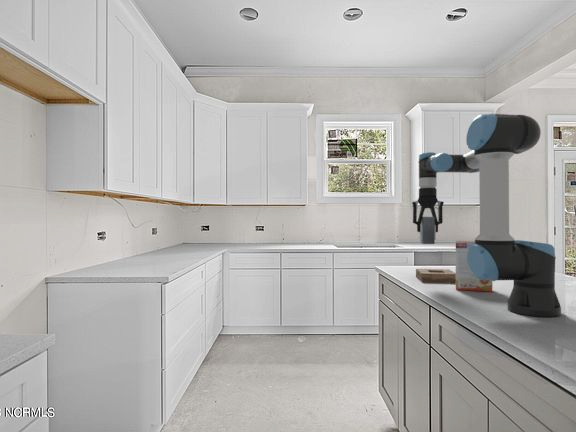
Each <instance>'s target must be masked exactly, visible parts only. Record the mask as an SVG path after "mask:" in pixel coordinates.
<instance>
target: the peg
mask: <svg viewBox="0 0 576 432" xmlns="http://www.w3.org/2000/svg"><path fill="white" fill-rule="evenodd" d="M420 225H422V240H420V243H421V244H422V245H435V241H436V240H435V217H432V216H423V217H422V221H421V224H420Z"/></svg>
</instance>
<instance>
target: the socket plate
mask: <svg viewBox="0 0 576 432" xmlns="http://www.w3.org/2000/svg"><path fill="white" fill-rule="evenodd" d="M415 277H416V278H417V279H418V280H419V281H420V282H421V283H438V284H439V283H442V284H443V283H445V284H446V283H447V284H456V271H453V270H450V268H449V269H448V268H447V269H444V268H443V269H442V268H415Z"/></svg>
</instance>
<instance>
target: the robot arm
mask: <svg viewBox="0 0 576 432" xmlns="http://www.w3.org/2000/svg"><path fill="white" fill-rule="evenodd" d="M541 134H542V131H541V127H540V124H539V122H537V121H536V119H534V118H533V117H531V116H528V115H525V114H507V113H505V114H503V113H488V114H487V113H486V114H485V113H484V114H480V115H477V116H476V117H475V118H474V119H473V120H472V121H471V123H470V125H469V127H468V129H467V132H466V138H465V139H466V146H467V148H468V149H469V150H471V151H469V152H467V153H466V154H448V153H446V152H445V153H444V152H441V153H436V152H433V151H432V152H431V151H429V152H427V151H426V152H421V153H420V154H419V155H418V188H419V189H418V198H417V200H414V201H412V202H411V205H412V223H413V224H414V225H416V232H417V233H419V236H418V237H419V238H418V239H419V240H420V241H421V240H422V225H421V221H422V217H424V213H425V210H426V209H430V213H431V217H435V241H436V239H437V237H436V233H439V225H440V224H443V222H444V221H443V218H444V217H443V206H444V204H445V203H444V201H442V200H438V198H437V195H438V194H437V184H438V183H437V181H438V180H437V178H438V177H437V174H438V173H463V174H464V173H465V174H466V173H468V174H472V173H474V174H475V173H479V181H478V182H479V235H477V236H476V237H475V238H474V240H475V244H474V245H472V246H470V248H469V251H468V253H467V260H468V265H469V268H470V270H471V271H472V273H473V274H474V276H476V277H477V278H478V279H480V280H490V281H492V282H497V281H513V286H512V289H511V293H510V295H509V298H508V300H507V310H508V311H509V312H513V313H515V314H520V315H526V316H531V317H543V318H548V317H549V318H550V317H551V318H552V317H559V316H561V315H562V306H561V304H560V301H559V298H558V295H557V292H556V285H555V284H556V283H555V281H556V279H555V278H556V274H555V273H556V259H557V258H556V257H557V256H556V253H555V250H556V249H555V247H554V246H553V245H552V244H550V243H545V242H537V241H528V240H520V239H519V240H518V239H515V238H514V237H513V236H512V235H511V234H510V179H509V178H510V177H509V176H510V171H509V169H510V168H509V167H510V165H509V164H510V161H509V160H511V158H512V157H513V156H514V155H519V154H523V153H525V152H527V151H529V150H531V149H533V148H534V147H535V146H536V145H537V144H538V142H539V141H540V138H541ZM436 204H437V207H438V208H437V210H438V211H437V214H436V211H435V210H436V209H435V206H436ZM418 205H420V206H421V207H420V210H419V215H418V216H417V214H418V213H417V212H418V210H417V209H418V207H417V206H418ZM417 217H418V218H417Z"/></svg>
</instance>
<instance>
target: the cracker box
mask: <svg viewBox="0 0 576 432" xmlns="http://www.w3.org/2000/svg"><path fill="white" fill-rule="evenodd" d="M474 244H475V239H474V240H473V239H472V240H471V239H456V240H455V273H456V283H455V289H456V291H457V290H458V291H473V292H477V291H478V292H486V293H487V292H488V293H493V281H490V280H480V279H478V278H477V277H476V276H474V274H473V273H472V271H471V270H470V268H469V265H468V260H467V253H468V251H469V248H470V246H472V245H474Z"/></svg>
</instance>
